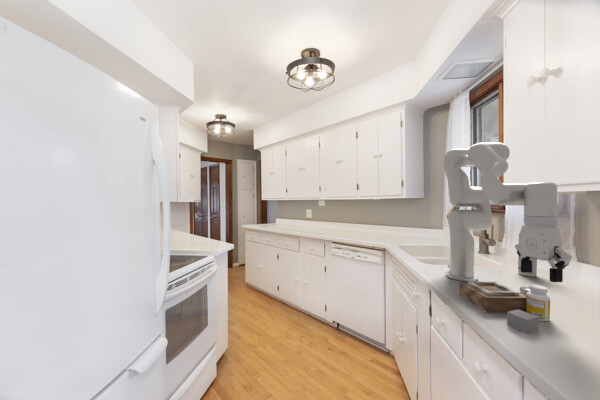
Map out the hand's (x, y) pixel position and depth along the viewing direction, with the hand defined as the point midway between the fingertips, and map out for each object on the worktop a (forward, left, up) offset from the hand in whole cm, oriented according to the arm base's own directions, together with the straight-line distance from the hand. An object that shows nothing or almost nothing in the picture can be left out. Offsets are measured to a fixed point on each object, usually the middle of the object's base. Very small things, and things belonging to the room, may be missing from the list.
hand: (540, 276), depth 78 cm
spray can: (-43, +34, -13) cm, 56 cm away
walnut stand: (-11, -7, -13) cm, 18 cm away
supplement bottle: (-1, 0, -13) cm, 13 cm away
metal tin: (-17, +12, -13) cm, 24 cm away
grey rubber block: (+5, -10, -13) cm, 17 cm away
